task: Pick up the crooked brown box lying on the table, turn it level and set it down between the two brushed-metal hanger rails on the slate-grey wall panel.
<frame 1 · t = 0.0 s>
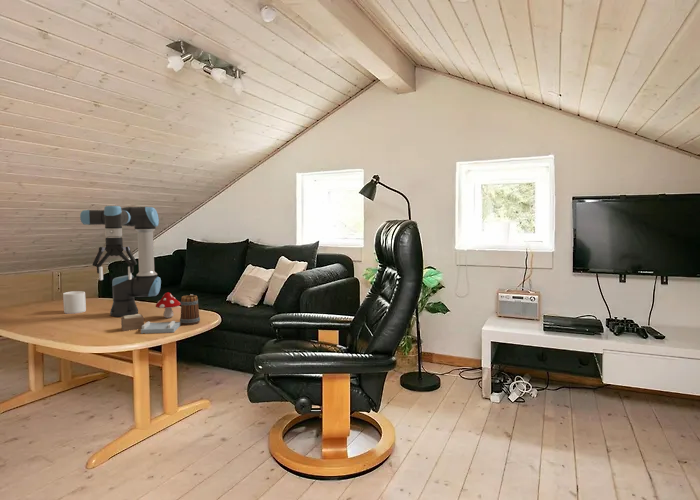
hand: (115, 279, 228), 28 cm above the table, fingers open, 13 cm apart
decorative mushroom: (169, 317, 268), on the table
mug: (190, 322, 257), on the table
brown box: (132, 328, 243), on the table
cup: (75, 312, 284), on the table
wall panel: (161, 329, 241), on the table
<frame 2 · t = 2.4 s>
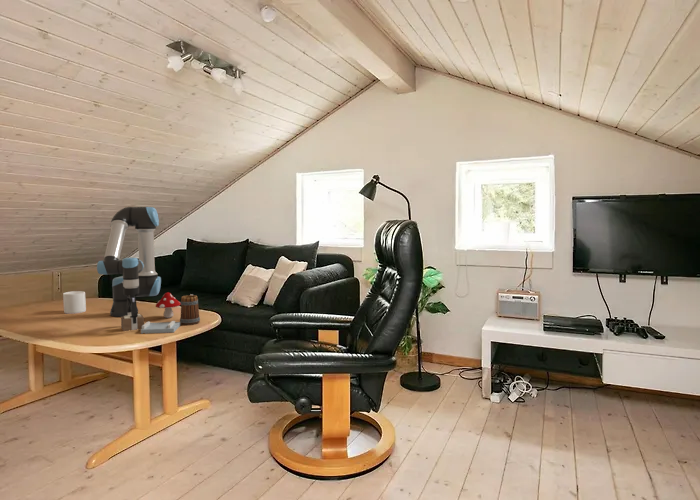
hand: (132, 326, 242), 1 cm above the table, fingers open, 13 cm apart
nothing on the table moved.
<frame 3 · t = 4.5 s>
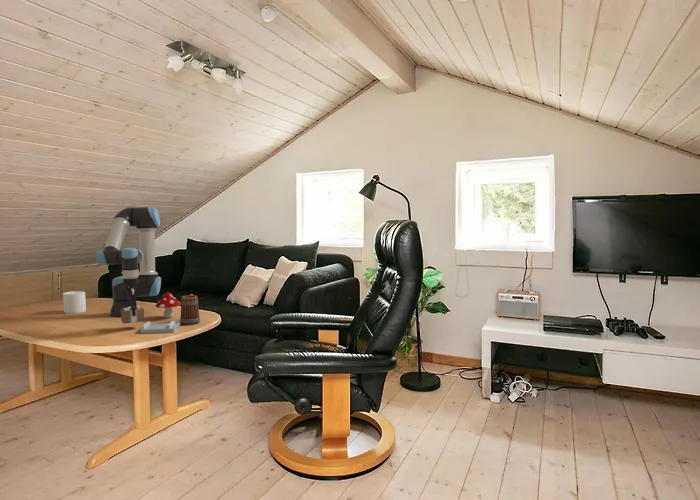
hand: (132, 320, 243), 4 cm above the table, fingers closed on brown box, 7 cm apart
brown box: (132, 320, 243), point 4 cm above the table, touching gripper
everything else where it was.
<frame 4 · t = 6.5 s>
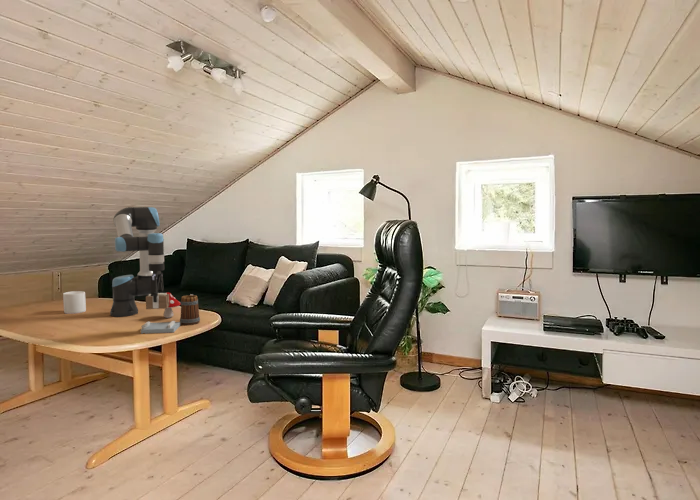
hand: (158, 306, 239), 12 cm above the table, fingers closed on brown box, 7 cm apart
brown box: (157, 307, 239), point 12 cm above the table, touching gripper
everything else where it was.
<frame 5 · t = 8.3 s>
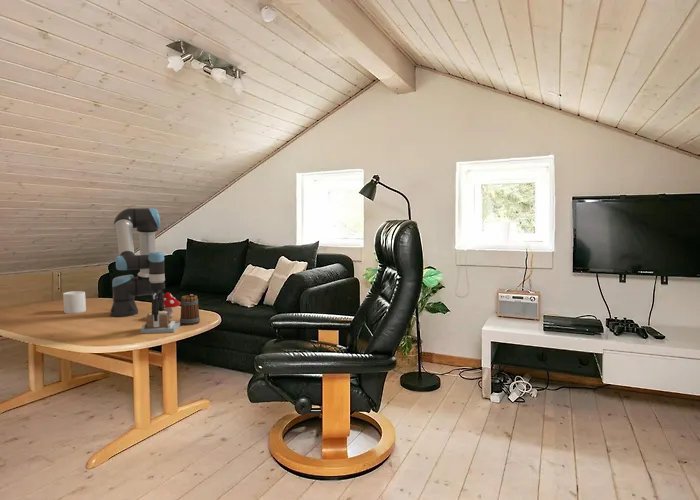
hand: (158, 325, 240), 3 cm above the table, fingers closed on brown box, 7 cm apart
brown box: (158, 325, 240), point 2 cm above the table, touching gripper
everything else where it was.
when the fingers open (3 cm above the table, at t = 8.9 s): brown box stays where it is, resting on wall panel.
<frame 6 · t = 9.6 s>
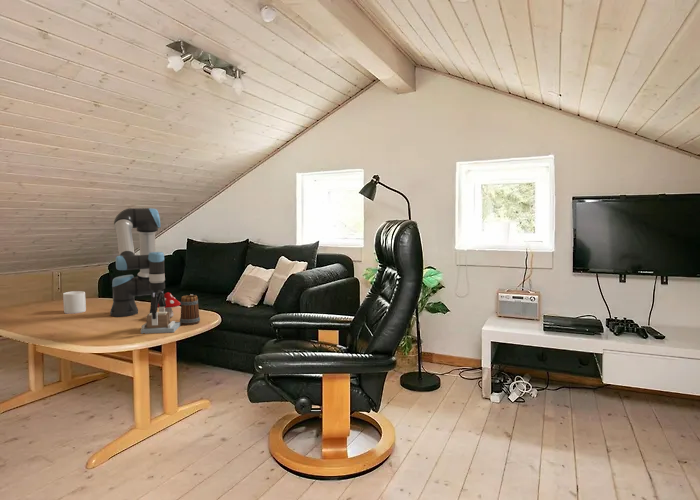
hand: (158, 322, 239), 4 cm above the table, fingers open, 13 cm apart
brown box: (158, 326, 240), point 2 cm above the table, touching wall panel
everything else where it was.
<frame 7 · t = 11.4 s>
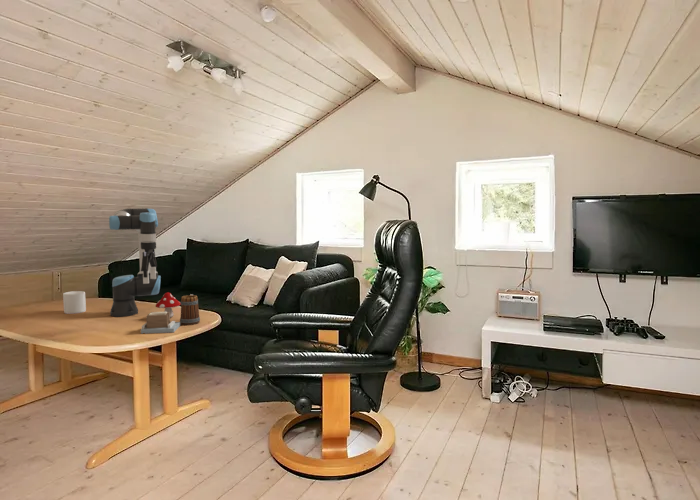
hand: (149, 281, 245), 25 cm above the table, fingers open, 13 cm apart
nothing on the table moved.
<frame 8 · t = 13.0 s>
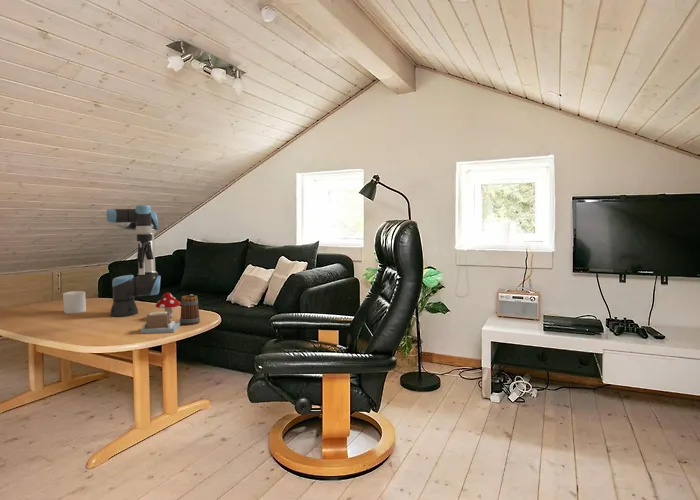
hand: (145, 272, 248), 29 cm above the table, fingers open, 13 cm apart
nothing on the table moved.
at the end: brown box inside the target area on the wall panel (0.1 cm from its centre), point 2.0 cm above the wall panel's base; brown box tilted 0°; the gripper is holding nothing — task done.
